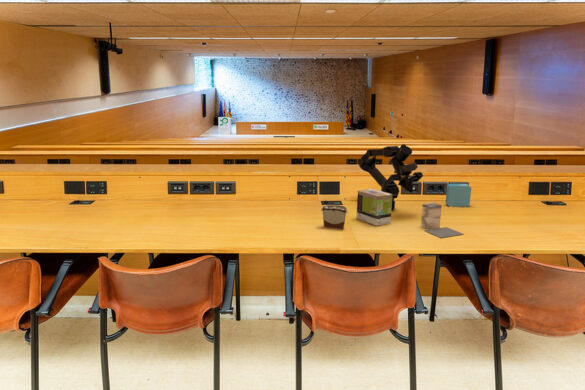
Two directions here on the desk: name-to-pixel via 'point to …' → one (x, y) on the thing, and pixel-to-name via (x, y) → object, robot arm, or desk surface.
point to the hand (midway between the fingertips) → (411, 192)
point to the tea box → (374, 206)
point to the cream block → (431, 216)
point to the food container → (334, 216)
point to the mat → (443, 232)
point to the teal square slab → (458, 195)
